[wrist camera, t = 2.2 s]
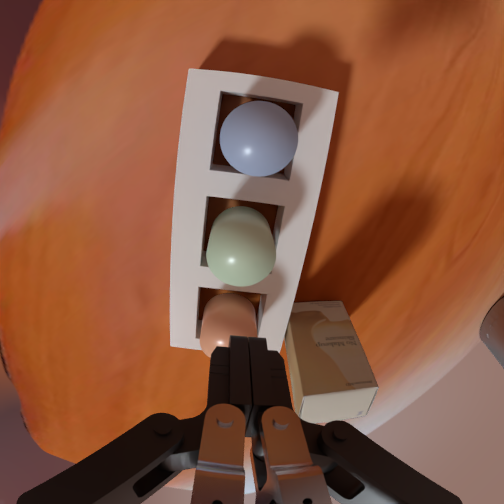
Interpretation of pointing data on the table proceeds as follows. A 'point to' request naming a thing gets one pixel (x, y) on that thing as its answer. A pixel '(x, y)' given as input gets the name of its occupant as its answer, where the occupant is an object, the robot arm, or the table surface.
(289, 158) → the blue button
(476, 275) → the table surface
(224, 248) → the green button
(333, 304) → the skincare box
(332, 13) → the table surface
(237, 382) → the robot arm
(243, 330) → the terracotta button
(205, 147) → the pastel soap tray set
